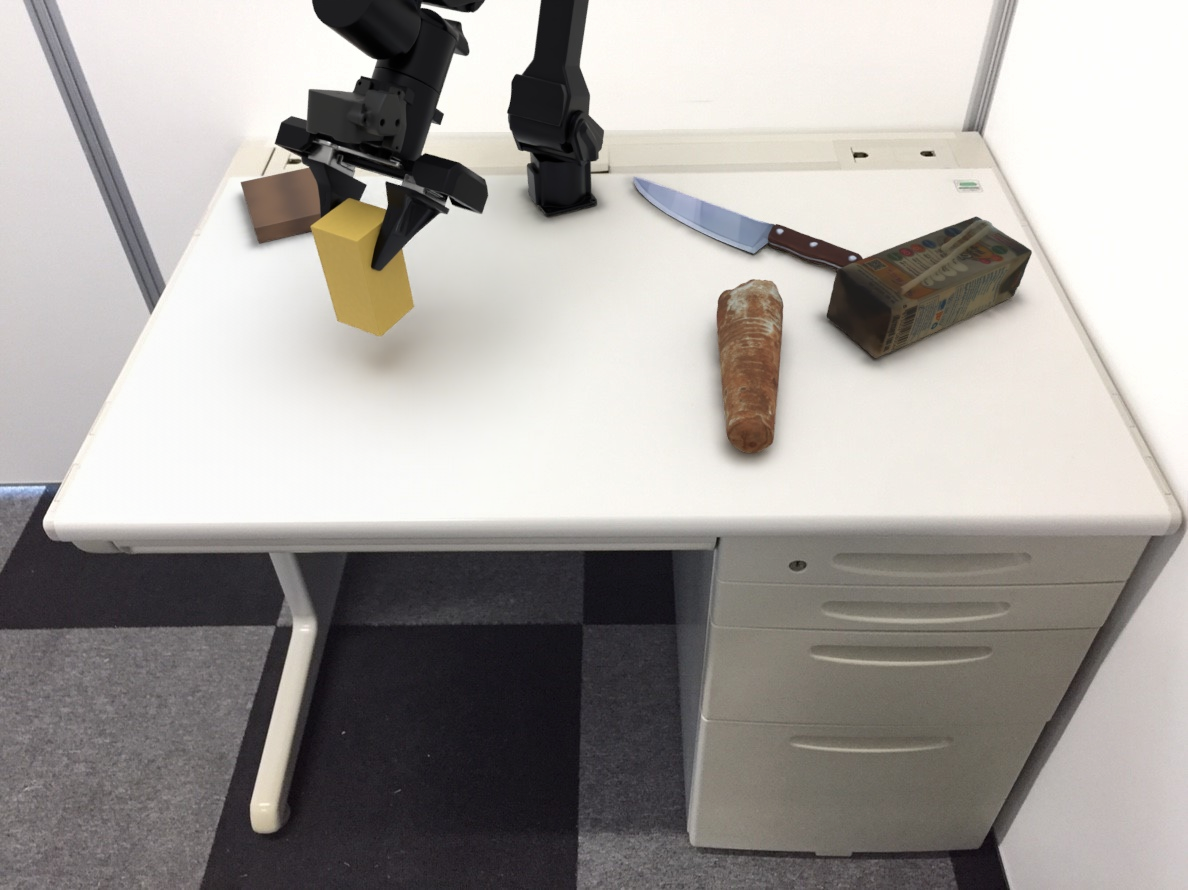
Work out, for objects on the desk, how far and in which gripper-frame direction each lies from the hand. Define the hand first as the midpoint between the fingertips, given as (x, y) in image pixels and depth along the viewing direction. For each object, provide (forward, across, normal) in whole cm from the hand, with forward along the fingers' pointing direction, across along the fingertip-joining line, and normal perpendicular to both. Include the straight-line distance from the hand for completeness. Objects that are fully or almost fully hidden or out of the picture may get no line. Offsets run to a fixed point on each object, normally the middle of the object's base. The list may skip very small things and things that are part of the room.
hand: (350, 261), depth 78 cm
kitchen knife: (-18, +21, +36) cm, 46 cm away
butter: (+4, 0, +6) cm, 7 cm away
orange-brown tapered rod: (-1, +32, +19) cm, 38 cm away
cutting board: (-4, -27, +22) cm, 35 cm away
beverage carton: (-14, +43, +32) cm, 55 cm away
